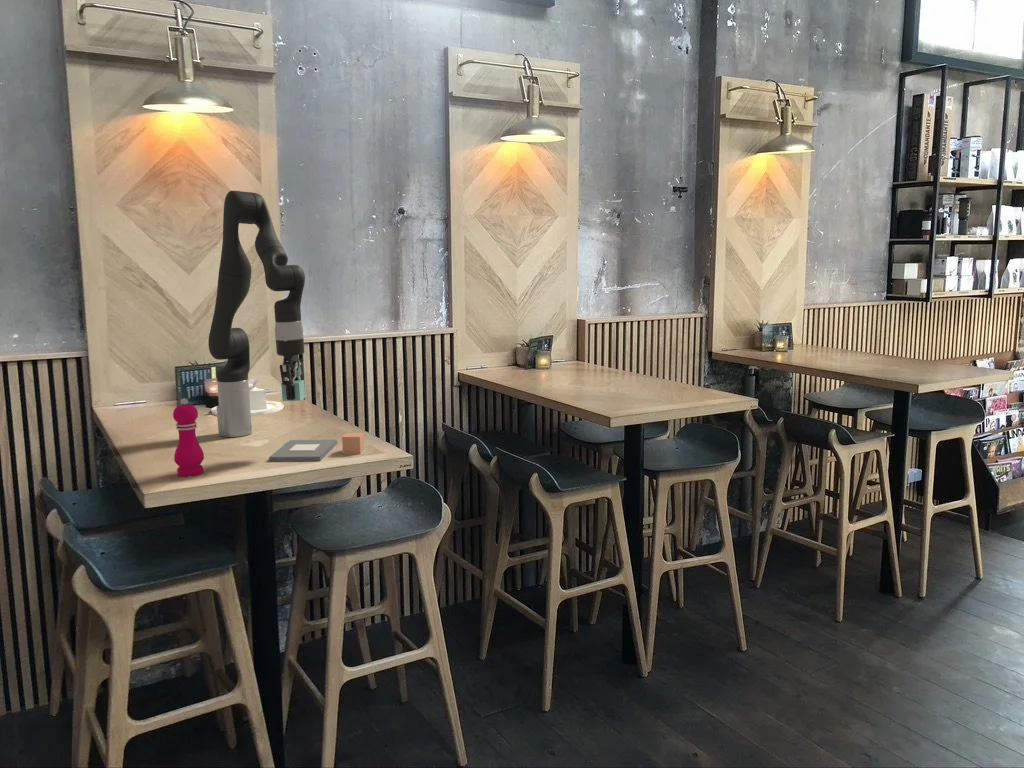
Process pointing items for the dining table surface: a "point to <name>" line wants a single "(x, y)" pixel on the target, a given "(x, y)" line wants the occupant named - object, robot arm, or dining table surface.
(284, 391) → the teal cube
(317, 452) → the plate
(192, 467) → the pepper mill
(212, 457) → the dining table surface
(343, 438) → the orange cube
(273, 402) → the dish
